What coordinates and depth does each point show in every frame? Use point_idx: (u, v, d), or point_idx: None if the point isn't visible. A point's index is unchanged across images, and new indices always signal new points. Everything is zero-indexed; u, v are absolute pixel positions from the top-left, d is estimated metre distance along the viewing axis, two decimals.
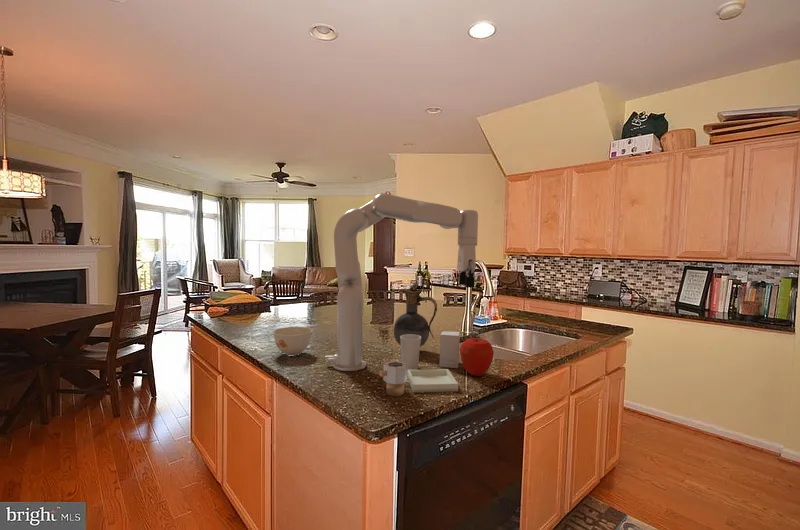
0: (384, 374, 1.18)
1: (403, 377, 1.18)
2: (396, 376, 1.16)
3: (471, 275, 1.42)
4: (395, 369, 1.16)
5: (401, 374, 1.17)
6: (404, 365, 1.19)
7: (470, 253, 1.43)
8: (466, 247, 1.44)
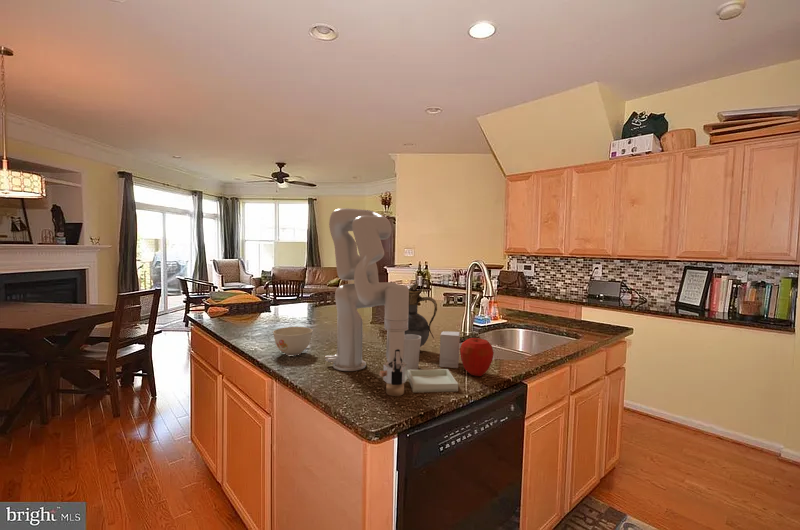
0: (384, 374, 1.18)
1: (403, 377, 1.18)
2: None
3: (397, 371, 1.14)
4: None
5: None
6: (404, 365, 1.19)
7: (397, 341, 1.15)
8: (392, 334, 1.15)
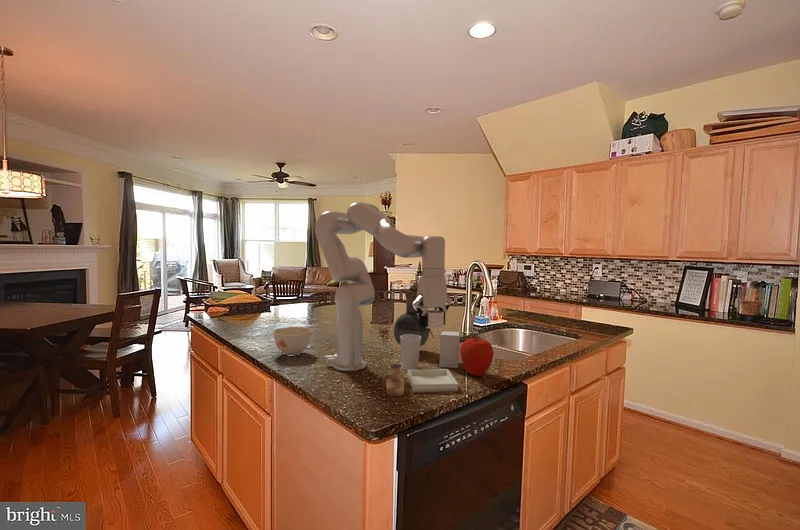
0: None
1: (430, 323, 1.24)
2: None
3: (419, 313, 1.24)
4: None
5: (428, 319, 1.24)
6: (435, 313, 1.24)
7: (421, 286, 1.24)
8: (419, 279, 1.25)
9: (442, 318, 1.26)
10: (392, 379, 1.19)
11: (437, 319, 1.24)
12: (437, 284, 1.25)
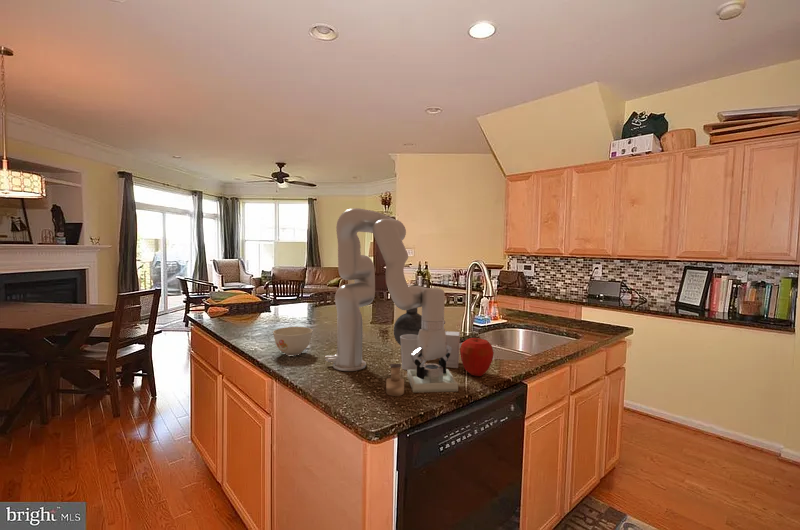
0: None
1: (429, 379, 1.25)
2: None
3: (417, 365, 1.25)
4: None
5: (427, 376, 1.25)
6: (434, 369, 1.26)
7: (420, 339, 1.25)
8: (419, 331, 1.26)
9: (441, 374, 1.27)
10: (392, 379, 1.19)
11: (436, 376, 1.25)
12: (437, 336, 1.26)
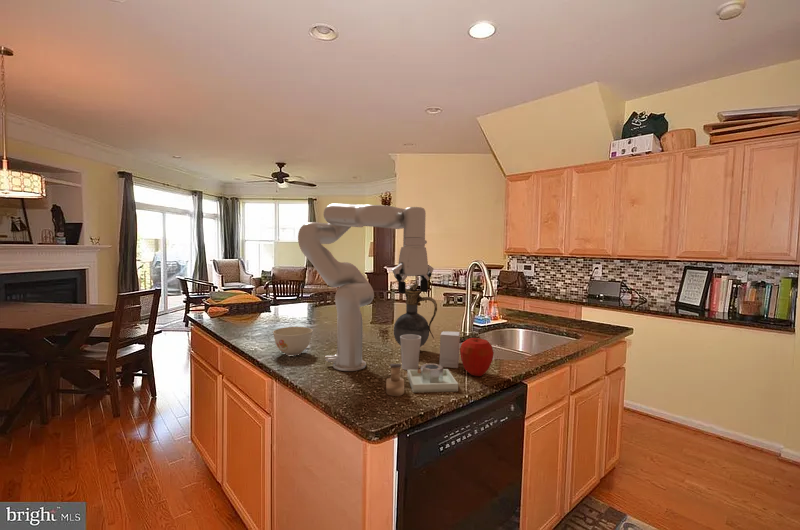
0: (419, 372, 1.30)
1: (429, 379, 1.25)
2: (423, 376, 1.26)
3: (398, 279, 1.29)
4: (422, 369, 1.27)
5: (427, 376, 1.25)
6: (434, 369, 1.26)
7: (402, 255, 1.29)
8: (401, 248, 1.30)
9: (441, 374, 1.27)
10: (392, 379, 1.19)
11: (436, 376, 1.25)
12: (418, 253, 1.30)
